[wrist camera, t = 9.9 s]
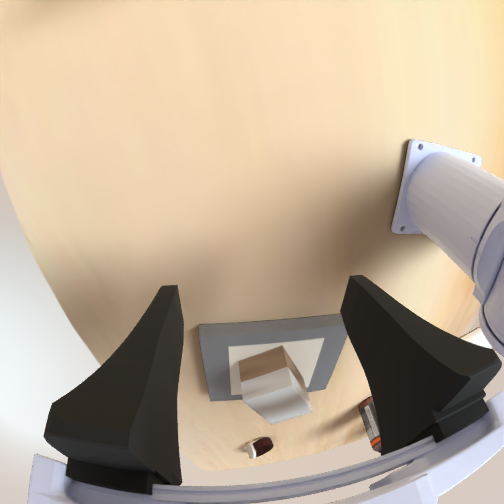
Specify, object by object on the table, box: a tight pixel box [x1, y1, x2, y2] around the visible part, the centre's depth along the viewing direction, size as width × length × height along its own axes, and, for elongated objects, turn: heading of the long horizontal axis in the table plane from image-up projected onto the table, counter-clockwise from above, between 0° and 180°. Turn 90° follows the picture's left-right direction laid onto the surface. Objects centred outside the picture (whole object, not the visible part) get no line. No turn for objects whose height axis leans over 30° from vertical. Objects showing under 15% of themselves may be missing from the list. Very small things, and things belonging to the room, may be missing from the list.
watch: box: [246, 438, 274, 459], centre depth 42 cm, size 8×5×4 cm, turn 165°
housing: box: [238, 345, 313, 424], centre depth 26 cm, size 7×4×4 cm, turn 24°
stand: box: [199, 314, 348, 401], centre depth 28 cm, size 14×12×2 cm
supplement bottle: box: [359, 397, 382, 456], centre depth 35 cm, size 6×6×11 cm
